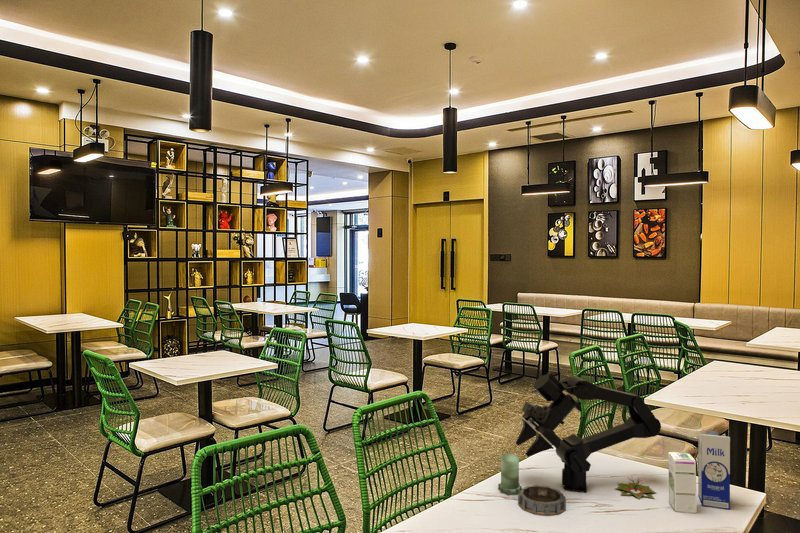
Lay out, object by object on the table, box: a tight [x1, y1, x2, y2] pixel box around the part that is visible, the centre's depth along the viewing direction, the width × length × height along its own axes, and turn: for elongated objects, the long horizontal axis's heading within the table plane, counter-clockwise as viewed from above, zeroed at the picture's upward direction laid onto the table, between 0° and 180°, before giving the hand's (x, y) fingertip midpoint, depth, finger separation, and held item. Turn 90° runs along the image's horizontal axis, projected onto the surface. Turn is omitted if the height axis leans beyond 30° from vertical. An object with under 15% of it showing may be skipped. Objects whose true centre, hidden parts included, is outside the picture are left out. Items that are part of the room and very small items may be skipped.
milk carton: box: [697, 430, 731, 510], centre depth 151 cm, size 7×7×20 cm
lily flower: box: [614, 476, 657, 500], centre depth 159 cm, size 12×12×5 cm
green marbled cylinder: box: [497, 453, 523, 496], centre depth 160 cm, size 7×7×10 cm
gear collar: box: [517, 484, 567, 517], centre depth 151 cm, size 13×13×3 cm
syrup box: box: [667, 451, 698, 514], centre depth 148 cm, size 6×6×14 cm
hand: (521, 449), depth 161 cm, fingers open, 9 cm apart
